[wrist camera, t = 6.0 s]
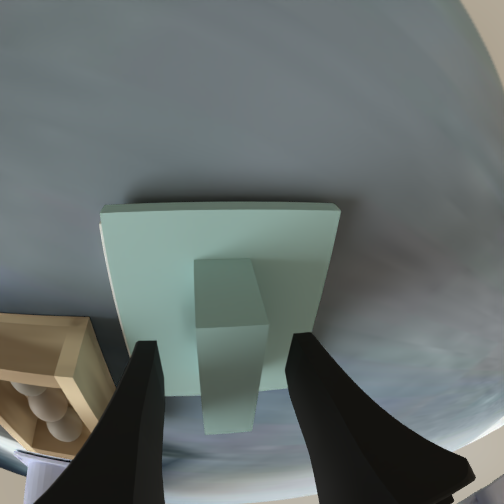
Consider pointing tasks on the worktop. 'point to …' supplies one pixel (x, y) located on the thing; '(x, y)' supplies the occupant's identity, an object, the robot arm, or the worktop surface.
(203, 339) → the lid
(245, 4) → the worktop surface
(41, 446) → the box
